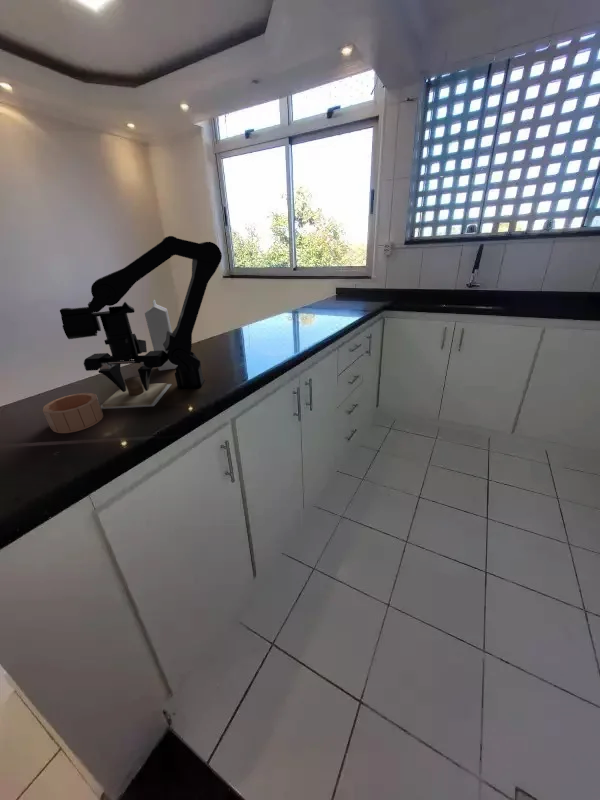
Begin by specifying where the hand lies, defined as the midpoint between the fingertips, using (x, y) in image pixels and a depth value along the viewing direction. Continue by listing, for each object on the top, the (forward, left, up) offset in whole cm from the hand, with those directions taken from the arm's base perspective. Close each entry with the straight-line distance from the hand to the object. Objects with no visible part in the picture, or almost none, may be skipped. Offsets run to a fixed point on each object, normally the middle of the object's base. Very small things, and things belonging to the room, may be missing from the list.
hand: (135, 390), depth 83 cm
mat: (0, 0, -2) cm, 2 cm away
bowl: (+8, +13, -2) cm, 15 cm away
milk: (-1, -23, -2) cm, 23 cm away
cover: (0, 0, -1) cm, 1 cm away
